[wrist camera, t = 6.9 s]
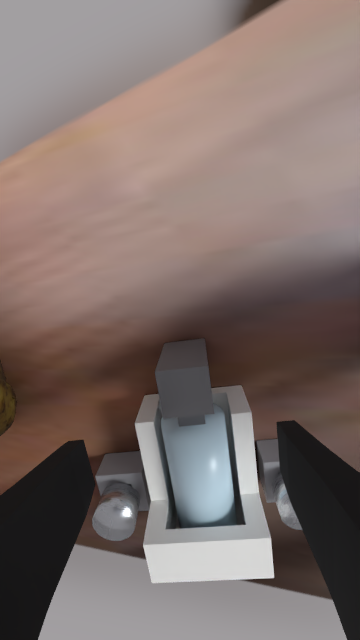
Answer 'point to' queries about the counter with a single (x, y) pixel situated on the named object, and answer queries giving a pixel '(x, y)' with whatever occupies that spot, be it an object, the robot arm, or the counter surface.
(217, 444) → the cartridge
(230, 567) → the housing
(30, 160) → the counter surface
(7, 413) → the potato
